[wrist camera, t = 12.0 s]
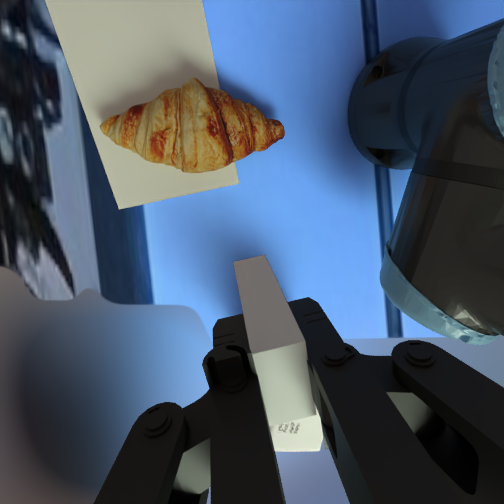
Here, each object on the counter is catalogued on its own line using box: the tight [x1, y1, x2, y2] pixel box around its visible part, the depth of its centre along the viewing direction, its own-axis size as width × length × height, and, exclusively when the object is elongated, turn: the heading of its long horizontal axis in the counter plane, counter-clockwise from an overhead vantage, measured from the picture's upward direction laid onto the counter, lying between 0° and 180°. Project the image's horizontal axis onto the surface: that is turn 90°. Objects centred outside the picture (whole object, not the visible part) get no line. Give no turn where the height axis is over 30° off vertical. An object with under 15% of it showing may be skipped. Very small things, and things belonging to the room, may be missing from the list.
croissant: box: [100, 78, 285, 173], centre depth 37 cm, size 21×10×8 cm, turn 90°
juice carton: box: [270, 405, 323, 452], centre depth 42 cm, size 8×9×19 cm
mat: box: [45, 0, 239, 209], centre depth 37 cm, size 16×24×1 cm, turn 11°
